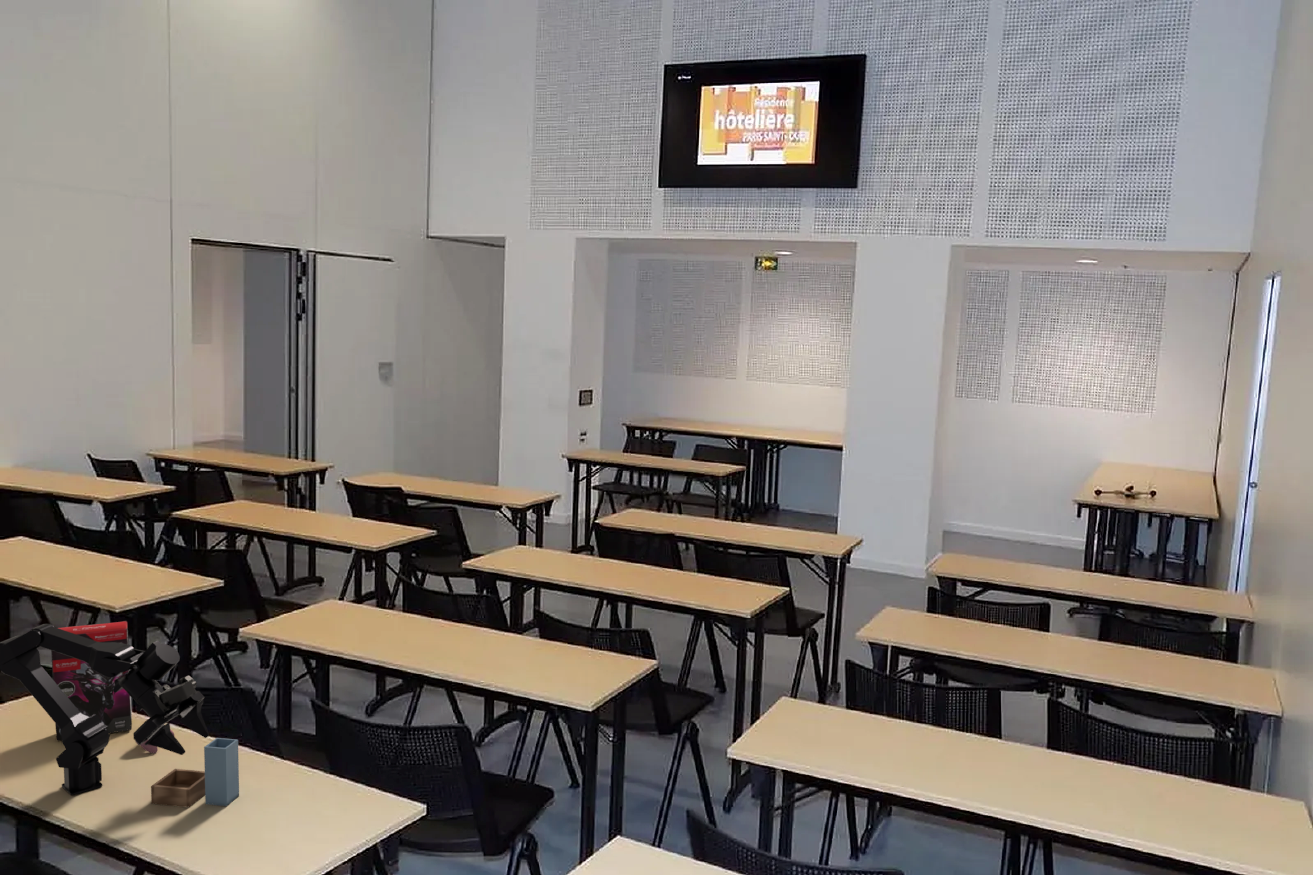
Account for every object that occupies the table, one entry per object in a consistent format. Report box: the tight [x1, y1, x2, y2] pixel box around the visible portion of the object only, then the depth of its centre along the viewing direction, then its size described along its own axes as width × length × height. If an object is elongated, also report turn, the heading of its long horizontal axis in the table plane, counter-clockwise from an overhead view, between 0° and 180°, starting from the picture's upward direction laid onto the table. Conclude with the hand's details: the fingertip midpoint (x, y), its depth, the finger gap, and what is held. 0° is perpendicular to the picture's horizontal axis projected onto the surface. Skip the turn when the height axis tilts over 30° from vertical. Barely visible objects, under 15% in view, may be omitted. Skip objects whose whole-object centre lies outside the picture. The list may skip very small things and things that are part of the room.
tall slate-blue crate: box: [203, 737, 240, 807], centre depth 228 cm, size 5×5×13 cm
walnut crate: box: [150, 768, 205, 808], centre depth 229 cm, size 9×9×4 cm
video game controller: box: [134, 728, 175, 754], centre depth 255 cm, size 10×5×7 cm, turn 179°
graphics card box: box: [50, 620, 133, 742], centre depth 261 cm, size 17×7×27 cm, turn 117°
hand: (196, 744), depth 228 cm, fingers open, 9 cm apart
